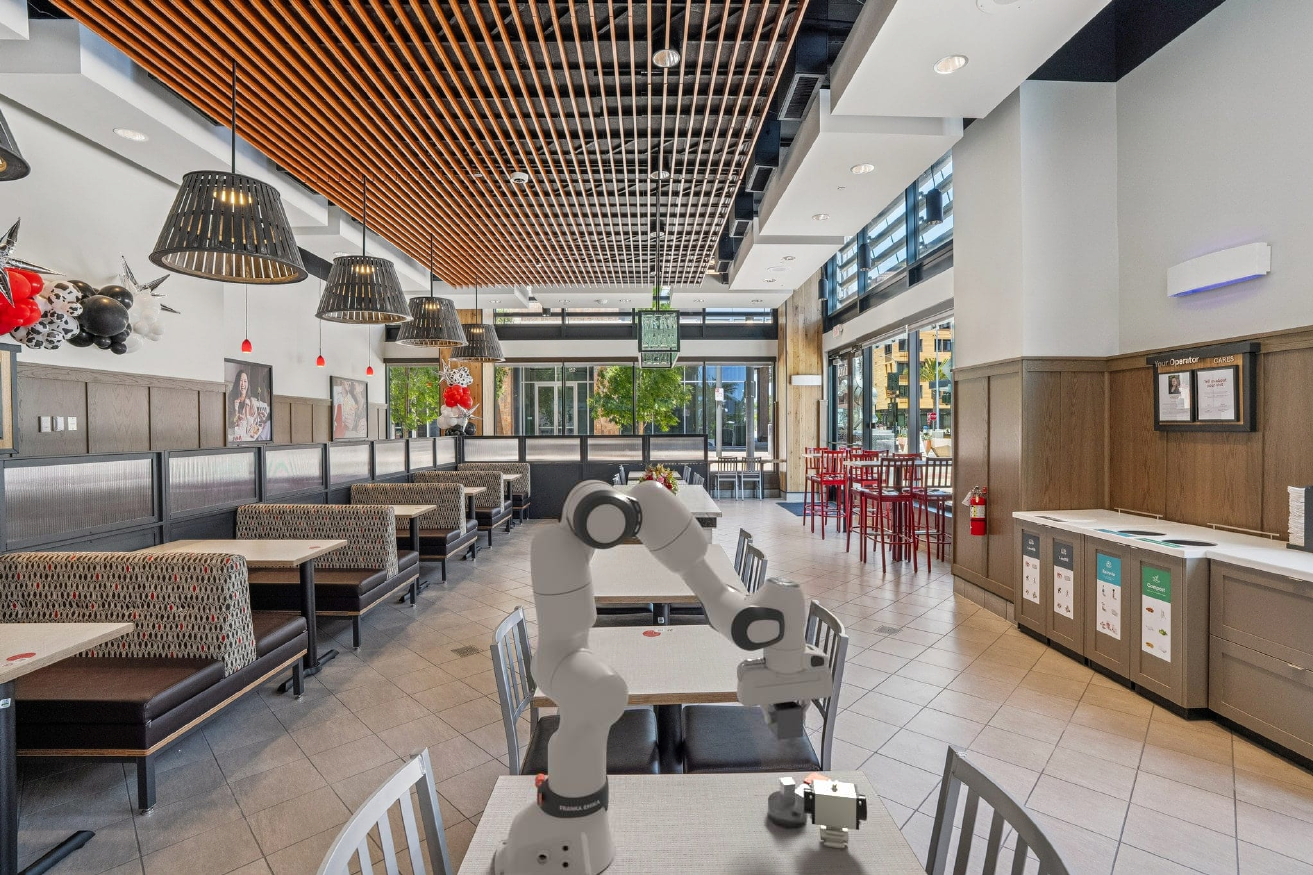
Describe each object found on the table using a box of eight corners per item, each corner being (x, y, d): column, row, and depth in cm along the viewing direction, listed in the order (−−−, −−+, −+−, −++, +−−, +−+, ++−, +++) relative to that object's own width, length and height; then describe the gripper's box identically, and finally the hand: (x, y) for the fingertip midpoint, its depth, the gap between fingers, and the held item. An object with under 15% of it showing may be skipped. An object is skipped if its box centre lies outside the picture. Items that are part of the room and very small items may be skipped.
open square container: (777, 739, 125) (777, 711, 125) (767, 726, 131) (767, 698, 130) (803, 736, 126) (802, 708, 126) (792, 723, 132) (791, 695, 131)
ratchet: (793, 834, 123) (793, 797, 122) (760, 816, 128) (760, 781, 128) (837, 795, 135) (837, 761, 135) (805, 780, 141) (805, 748, 141)
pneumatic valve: (866, 855, 117) (867, 793, 116) (803, 846, 119) (804, 786, 119) (863, 836, 122) (863, 777, 122) (802, 828, 124) (803, 770, 124)
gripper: (741, 666, 123) (742, 734, 123) (836, 657, 127) (836, 722, 127) (732, 654, 129) (733, 718, 129) (822, 645, 133) (822, 708, 133)
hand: (785, 720), depth 128 cm, fingers closed on open square container, 6 cm apart
